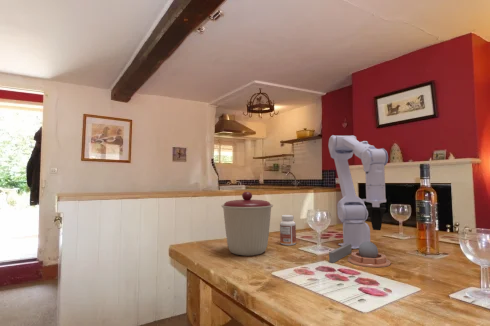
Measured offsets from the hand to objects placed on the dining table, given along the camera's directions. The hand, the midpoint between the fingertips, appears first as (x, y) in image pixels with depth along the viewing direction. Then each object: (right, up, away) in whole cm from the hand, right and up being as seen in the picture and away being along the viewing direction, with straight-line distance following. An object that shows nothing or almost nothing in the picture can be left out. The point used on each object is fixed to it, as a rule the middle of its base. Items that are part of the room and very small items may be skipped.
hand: (376, 228), depth 94 cm
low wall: (-11, -10, +1) cm, 15 cm away
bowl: (-5, -9, -5) cm, 11 cm away
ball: (-5, -6, -4) cm, 9 cm away
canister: (-42, -10, +8) cm, 44 cm away
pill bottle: (-25, -11, +21) cm, 35 cm away
